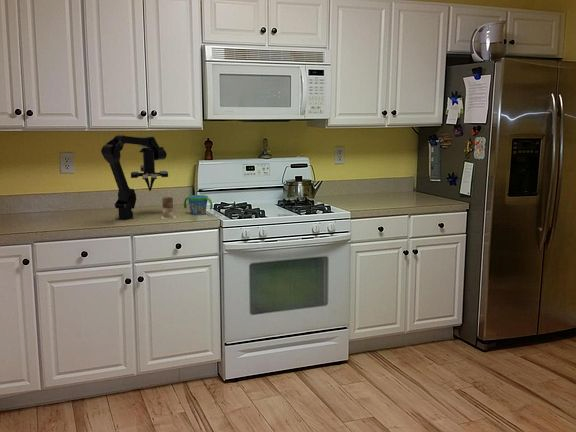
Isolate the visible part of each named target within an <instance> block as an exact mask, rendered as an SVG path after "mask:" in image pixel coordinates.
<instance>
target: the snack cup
mask: <svg viewBox="0 0 576 432" xmlns="http://www.w3.org/2000/svg"><path fill="white" fill-rule="evenodd" d="M187 201H188V205H189V210H190V215H195V216H196V215H197V216H198V215H205V214H206V212H207V205H208V202H209V210H210V211H211V210H213V202H212V199H211V198H210V197H209V196H208V195H205V194H198V195H197V194H194V195H193V194H192V195H188V196H187V197H185V198H184V201H183V208H184V209H187V207H188V206H187Z"/></svg>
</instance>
